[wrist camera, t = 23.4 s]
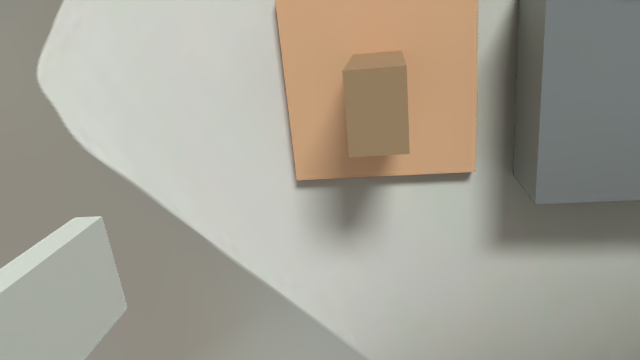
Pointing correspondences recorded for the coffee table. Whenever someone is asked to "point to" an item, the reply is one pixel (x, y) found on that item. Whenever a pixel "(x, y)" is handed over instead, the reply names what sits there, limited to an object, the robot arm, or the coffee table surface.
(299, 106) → the cover
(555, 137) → the housing
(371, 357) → the coffee table surface
